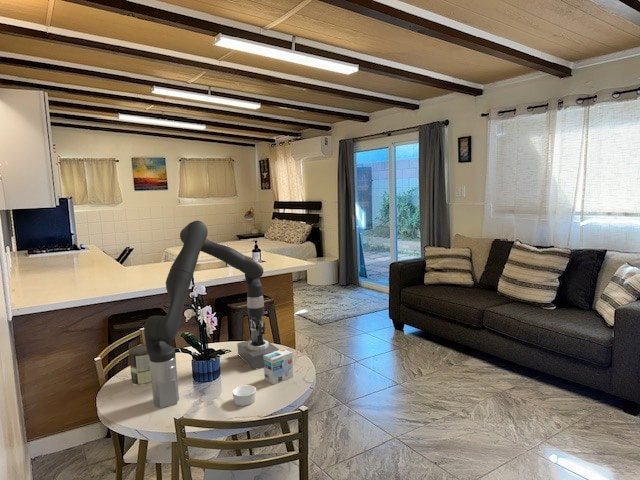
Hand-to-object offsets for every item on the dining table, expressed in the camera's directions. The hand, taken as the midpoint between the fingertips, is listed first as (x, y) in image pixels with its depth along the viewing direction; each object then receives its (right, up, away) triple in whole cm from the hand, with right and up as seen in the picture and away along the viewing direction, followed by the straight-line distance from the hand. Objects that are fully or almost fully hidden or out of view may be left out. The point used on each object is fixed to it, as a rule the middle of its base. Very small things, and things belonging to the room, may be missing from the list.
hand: (257, 340), depth 201 cm
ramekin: (+1, -14, -38) cm, 40 cm away
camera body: (0, -9, +1) cm, 9 cm away
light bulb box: (+12, -11, -20) cm, 26 cm away
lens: (0, -1, 0) cm, 2 cm away
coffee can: (-45, -13, -17) cm, 50 cm away
